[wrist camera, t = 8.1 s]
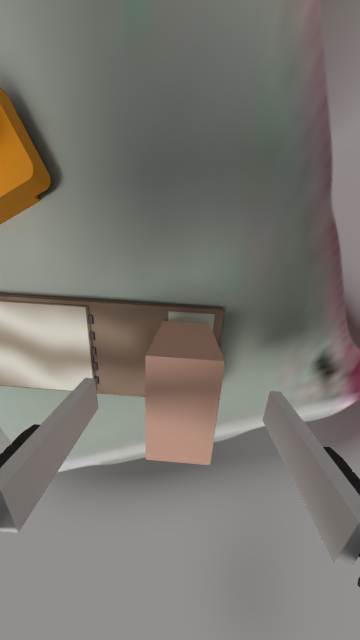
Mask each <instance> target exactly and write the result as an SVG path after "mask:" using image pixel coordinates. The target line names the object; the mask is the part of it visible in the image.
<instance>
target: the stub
mask: <svg viewBox="0 0 360 640" xmlns="http://www.w3.org/2000/svg"><path fill="white" fill-rule="evenodd" d="M224 365H225V360H224V358H223V355H222V353H221V351H220V348H219V346H218V343H217V341H216V339H215V336H214V334H213V332H212V329H211V327H210V324H208V323H193V322H178V321H163V322H162V324H161V326H160V328H159V330H158V332H157V334H156V336H155V338H154V340H153V342H152V344H151V346H150V348H149V350H148V352H147V354H146V356H145V367H146V459H148V460H158V461H170V462H181V463H192V464H204V465H210V461H211V455H212V447H213V441H214V434H215V427H216V420H217V413H218V406H219V400H220V393H221V386H222V379H223V372H224Z"/></svg>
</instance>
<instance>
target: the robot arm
mask: <svg viewBox="0 0 360 640" xmlns="http://www.w3.org/2000/svg"><path fill="white" fill-rule="evenodd" d="M97 409H98V401H97V392H96V383H95V379H94V378H84V379H83V381H82V382H81V383H80V384H79V385H78V386H77V387H76V388H75V389H74V390H73V391H72V392H71V393H70V394H69V395H68V396H67V398H66V399H65V400H64V401H63V402H62V403H61V404H60V405H59V406H58V407H57V408H56V409H55V410H54V411H53V412H52V414H51V415H50V416H49V417H48V418H47V419H46V420H45V421H44V422H43V423H42V424H41V425H35V424H34V425H33V426H31V427H30V428H28V429H27V430H25V431H24V432H22V433H21V434H20V435H19V436H18V437H17V438H16V439H15V440H14V441H13V442H12V444H11V445H9V446H8V447H7V448H6V449H5V450H4V452H3V453H2V454H0V531H6V532H16V533H18V532H19V531H20V529H21V528H22V526H23V525H24V523H25V521H26V520H27V518H28V517H29V515H30V513H31V512H32V510H33V509H34V507H35V506H36V504H37V503H38V501H39V500H40V498H41V496H42V494H43V493H44V492H45V490H46V488H47V487H48V485H49V484H50V482H51V481H52V479H53V478H54V476H55V474H56V473H57V471H58V470H59V468H60V467H61V465H62V464H63V462H64V460H65V459H66V457H67V456H68V454H69V453H70V451H71V450H72V448H73V446H74V445H75V443H76V442H77V440H78V439H79V437H80V435H81V434H82V432H83V431H84V429H85V428H86V426H87V425H88V423H89V421H90V420H91V418H92V417H93V415H94V414H95V412H96V410H97ZM263 422H264V424H265V426H266V428H267V430H268V432H269V434H270V436H271V437H272V440H273V442H274V444H275V446H276V448H277V450H278V451H279V454H280V456H281V458H282V460H283V462H284V464H285V466H286V467H287V470H288V472H289V473H290V476H291V478H292V480H293V482H294V484H295V485H296V487H297V490H298V491H299V494H300V495H301V497H302V500H303V501H304V504H305V506H306V508H307V509H308V511H309V513H310V515H311V517H312V519H313V521H314V523H315V525H316V527H317V529H318V531H319V533H320V535H321V537H322V539H323V541H324V543H325V545H326V547H327V549H328V551H329V553H330V555H331V557H332V559H333V561H334V562H335V563H346V564H354V563H355V561H356V560H357V558H358V557H360V479H359V478H358V477H357V476H356V474H355V473H354V472H352V469H351V468H350V467H349V466H348V465H347V463H346V462H345V461H344V460H343V458H342V457H340V456H339V455H338V454H337V453H336V452H335V451H334V450H332V449H331V448H330V447H322V445H321V444H320V443H319V442H318V440H317V439H316V438H315V436H314V435H313V434H312V432H311V431H310V430H309V428H308V427H307V426H306V425H305V423H304V422H303V421H302V419H301V418H300V417H299V415H298V414H297V413H296V411H295V410H294V409H293V407H292V406H291V405H290V404H289V402H288V401H287V400H286V398H285V397H284V396H283V394H282V393H281V392H275V391H270V394H269V398H268V402H267V405H266V409H265V413H264V417H263ZM358 586H359V587H360V578H359V579H358Z"/></svg>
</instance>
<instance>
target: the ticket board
mask: <svg viewBox="0 0 360 640" xmlns="http://www.w3.org/2000/svg"><path fill="white" fill-rule="evenodd" d="M223 317H224V309H223V308H221V307H205V306H189V305H173V304H157V303H141V302H125V301H109V300H93V299H77V298H60V297H44V296H28V295H12V294H0V386H13V387H25V388H38V389H51V390H64V391H73V390H74V389H75V388H76V387H77V386H78V385H79V384H80V383H81V382H82V381H83V379H84V378H94V379H95V383H96V392H97V393H102V394H115V395H128V396H140V397H146V367H145V356H146V354H147V352H148V350H149V348H150V346H151V344H152V342H153V340H154V338H155V336H156V334H157V332H158V330H159V328H160V326H161V324H162V322H163V321H178V322H193V323H208V324H210V327H211V329H212V332H213V334H214V336H215V339H216V341H217V343H218V346H219V347H220V340H221V332H222V325H223Z"/></svg>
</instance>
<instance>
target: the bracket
mask: <svg viewBox="0 0 360 640" xmlns="http://www.w3.org/2000/svg"><path fill="white" fill-rule="evenodd" d="M49 186H50V175H49V173H48V171H47V169H46V167H45V165H44V164H43V162H42V160H41V158H40V156H39V154H38V152H37V150H36V148H35V146H34V145H33V143H32V141H31V139H30V137H29V135H28V133H27V131H26V129H25V127H24V125H23V124H22V122H21V120H20V118H19V116H18V114H17V112H16V110H15V108H14V106H13V105H12V103H11V101H10V99H9V97H8V95H7V94H6V93H5V92H4V91H3V90H2V89H1V88H0V224H2V223H3V222H5V221H7V220H8V219H10V218H12V217H13V216H15V215H17V214H19V213H20V212H22V211H24V210H25V209H27V208H29V207H30V206H32V205H34V204H35V203H37V202H39V201H40V200H39V198H38V196H37V195H39V194H40V193H42V192H44V191H45V190H47V189H48V188H49Z"/></svg>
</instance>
